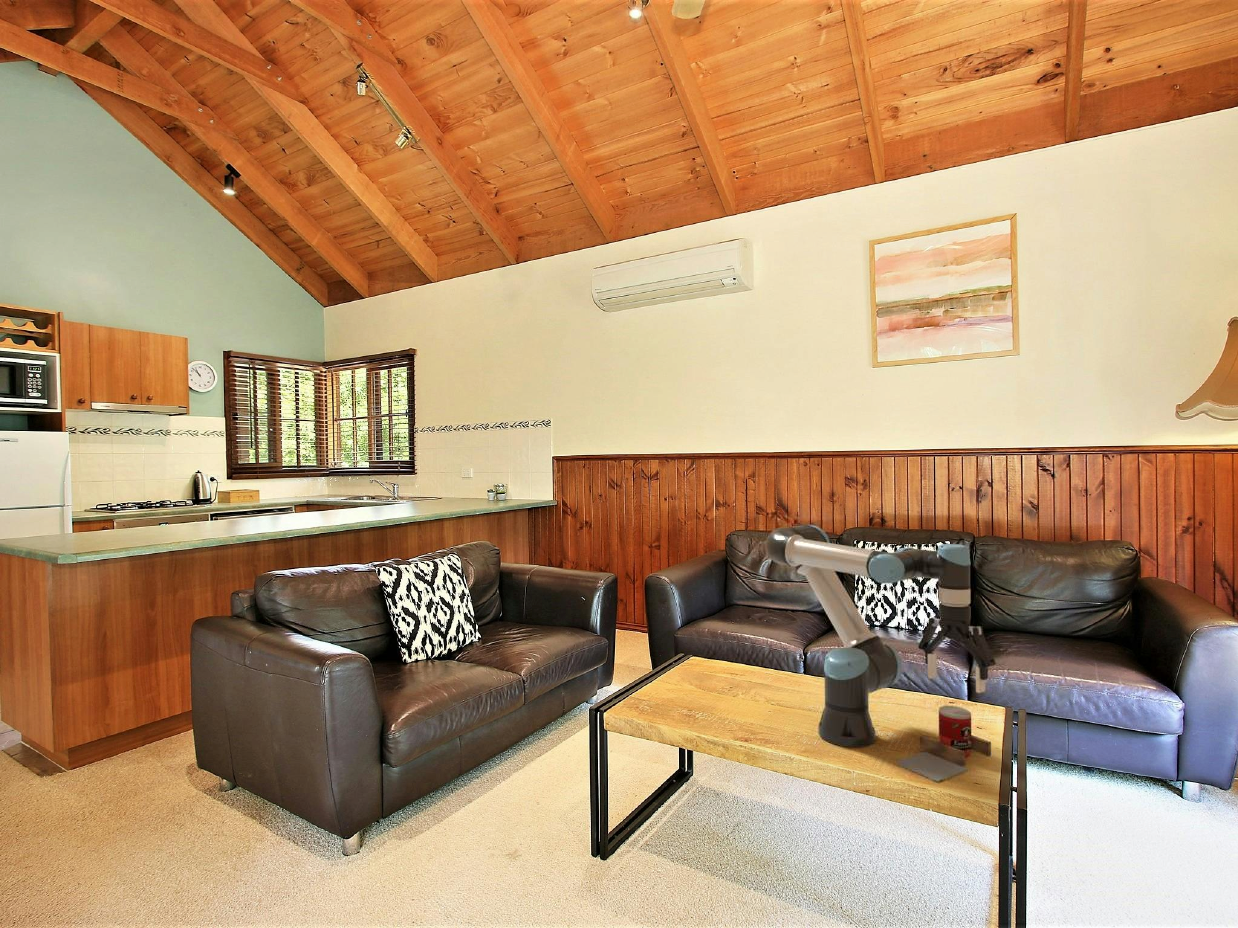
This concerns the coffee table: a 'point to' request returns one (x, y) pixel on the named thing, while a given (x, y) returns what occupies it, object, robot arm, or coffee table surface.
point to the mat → (931, 766)
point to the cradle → (954, 749)
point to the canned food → (955, 728)
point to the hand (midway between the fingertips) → (955, 684)
